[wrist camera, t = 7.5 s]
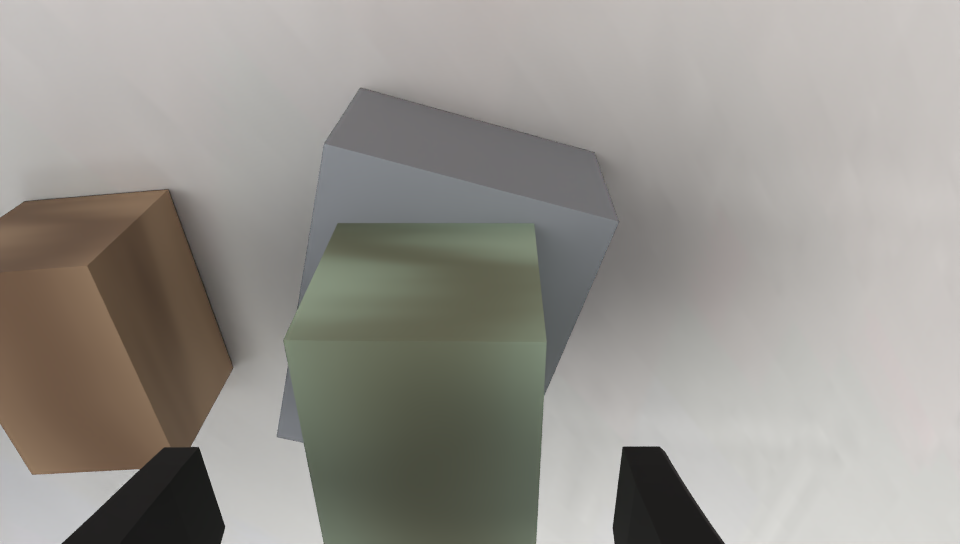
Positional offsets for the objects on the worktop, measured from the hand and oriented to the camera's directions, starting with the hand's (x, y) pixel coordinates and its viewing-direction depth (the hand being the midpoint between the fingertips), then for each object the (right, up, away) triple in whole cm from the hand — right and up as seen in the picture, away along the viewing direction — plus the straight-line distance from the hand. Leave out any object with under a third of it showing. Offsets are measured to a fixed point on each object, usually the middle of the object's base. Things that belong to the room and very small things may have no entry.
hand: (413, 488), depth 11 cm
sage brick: (0, +2, +4) cm, 4 cm away
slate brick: (0, +4, +7) cm, 8 cm away
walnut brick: (-9, +3, +8) cm, 12 cm away
